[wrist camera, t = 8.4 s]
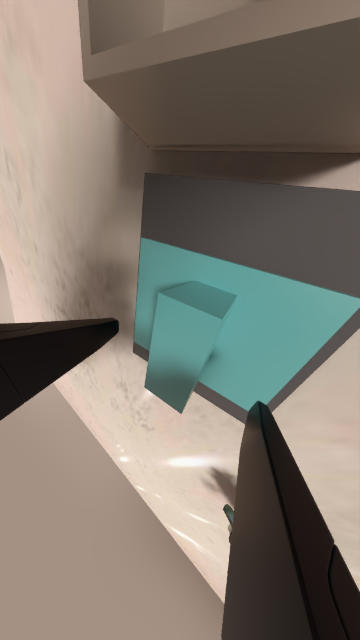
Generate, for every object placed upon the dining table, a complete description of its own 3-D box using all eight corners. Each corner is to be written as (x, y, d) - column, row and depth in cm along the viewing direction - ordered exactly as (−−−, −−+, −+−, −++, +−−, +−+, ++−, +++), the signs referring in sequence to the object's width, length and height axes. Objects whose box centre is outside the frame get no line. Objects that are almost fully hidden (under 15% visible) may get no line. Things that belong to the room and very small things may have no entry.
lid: (344, 292, 8) (503, 353, 3) (256, 396, 13) (253, 486, 8) (156, 240, 12) (80, 226, 7) (145, 334, 17) (96, 365, 12)
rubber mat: (471, 207, 6) (490, 202, 5) (253, 424, 15) (253, 429, 15) (149, 176, 11) (144, 173, 11) (135, 350, 21) (132, 352, 20)
